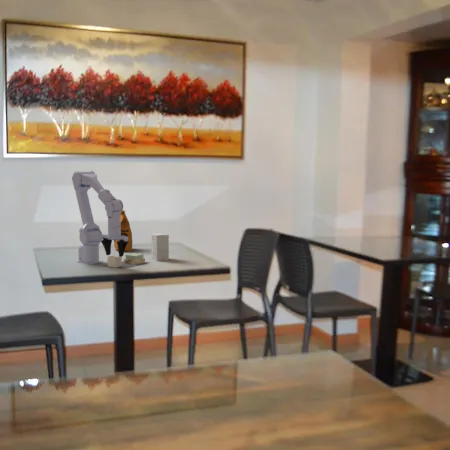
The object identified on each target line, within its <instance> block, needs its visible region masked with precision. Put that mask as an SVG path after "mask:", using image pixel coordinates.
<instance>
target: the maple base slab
mask: <svg viewBox="0 0 450 450" xmlns="http://www.w3.org/2000/svg"><path fill="white" fill-rule="evenodd" d="M123 261H124V263H126V264H134V265H137V264H141V263H145V262H146V258H145V257H143V259H139V260H129V259H126V258H124V259H123Z"/></svg>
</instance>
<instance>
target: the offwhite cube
mask: <svg viewBox="0 0 450 450" xmlns="http://www.w3.org/2000/svg"><path fill="white" fill-rule="evenodd" d="M122 259H123V256H122V257H119V255H111V256H110V255H108V256H107V265H108V267H107V268H112V267H120V266H122V262H123V261H122Z"/></svg>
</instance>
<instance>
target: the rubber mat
mask: <svg viewBox="0 0 450 450" xmlns="http://www.w3.org/2000/svg"><path fill="white" fill-rule="evenodd" d="M147 264H151V261H150V262H148V261H145V263H141V264H137V265H134V264H126V263H124V260H123V261H122V266H120V267H111V268H112V269H118V270H119V269H120V270H121V269H122V270H126V269H130V268H134V267H138V266H144V265H147ZM103 267H106V268H109V267H108V264H105V265H103Z"/></svg>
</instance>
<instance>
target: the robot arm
mask: <svg viewBox="0 0 450 450" xmlns="http://www.w3.org/2000/svg"><path fill="white" fill-rule="evenodd" d="M71 179H72V185H73V189H74V192H75V196H76V197H75V198H76V200H77V205H78V209H79V214H80V219H81V222H82V225H81V227H80V228H79V229H78V231H79V242H80V243H81V244H80V245H79V246H78V261H77V263H80V264H81V263H82V264H90V265H93V264H98V263H102V262H104V261H103V260H100V244H102V246H103V248H104V251H105V254H106V256H110V255H111V253H112V250H111V249H112V248H111V247H112V242H113V241H114V240H119V241H118V242H117V245H118V249H119V251H118V256H119V257H122V258H123V257H124V255H125V254H124V253H125V251H124V250H125V248H126V245H127V244H128V237H126V236H121V211H122V210H124V204H123V201H122V200H121V199H117V198H116V197H115V196H114V195H113V194H112V193H111V192H110V189H106V188H104V187H103V186H102V183H100V181H99V179H98V176H97V174H96V172H95V171H94V170H87V171H86V170H84V171H83V170H75V171H74V172H73V174H72V177H71ZM91 188H92V189H93V190H94V191H95V193H97V194H98V195H97V197H98V199H99V200H100V202H101V203H103V205H104V210H105V212H106V217H107V234H103V232H102V230H101V229H100V226H99V225H98V224H97V223H96V222H95V221H94V217H93V212H92V208H91V203H90V199H89V194H88V191H89V190H90V189H91ZM114 238H115V239H114Z"/></svg>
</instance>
